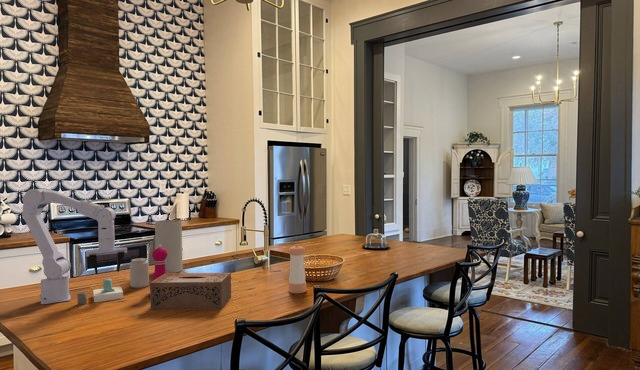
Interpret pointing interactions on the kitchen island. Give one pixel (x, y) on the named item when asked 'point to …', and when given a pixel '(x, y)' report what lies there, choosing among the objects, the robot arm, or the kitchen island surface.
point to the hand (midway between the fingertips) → (107, 272)
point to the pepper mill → (159, 261)
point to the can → (139, 273)
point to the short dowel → (82, 298)
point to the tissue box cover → (190, 291)
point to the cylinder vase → (170, 243)
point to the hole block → (107, 294)
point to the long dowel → (107, 285)
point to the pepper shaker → (297, 270)
